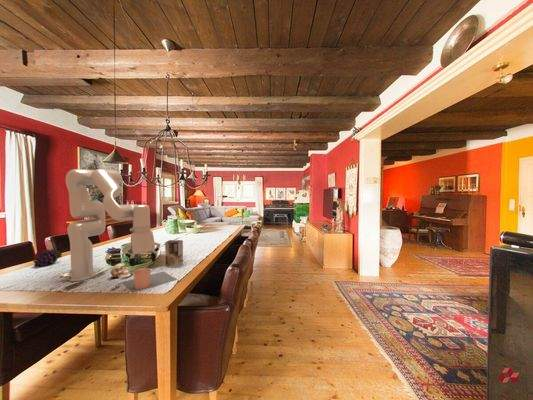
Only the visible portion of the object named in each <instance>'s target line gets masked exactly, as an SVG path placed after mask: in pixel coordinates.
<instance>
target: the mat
mask: <svg viewBox="0 0 533 400" xmlns="http://www.w3.org/2000/svg"><path fill="white" fill-rule="evenodd" d="M175 281H178V278H176V277H174V276H172V275H171V274H169V273H167V272H165V271H160V272H159V271H158V272H156V273H151V285H150V286H149V287H147V288H143V289H135V288H134V278H132V279H128V280H124V281H122V282H121V281H120V283H121V285H123V286H124V287H125V288H127V290H129V292H131V293H132V294H135V293H137V292H140V291H145V290H147V289H151V288H154V287H158V286H162V285H165V284H168V283H172V282H175Z"/></svg>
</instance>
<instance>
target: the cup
mask: <svg viewBox="0 0 533 400" xmlns="http://www.w3.org/2000/svg"><path fill="white" fill-rule="evenodd" d="M151 271H152V270H151V269H150V267H142V268H138V269H135V270H134V272H133V279H134V288H135V289H143V288H147V287H149V286H150V285H151V274H152V273H151Z"/></svg>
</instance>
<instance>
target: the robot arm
mask: <svg viewBox="0 0 533 400" xmlns="http://www.w3.org/2000/svg"><path fill="white" fill-rule="evenodd" d="M122 182H123V176H122V174H121V173H120V172H119V171H117V170H115V169H107V168H106V169H105V168H97V169H87V168H75V169H70V170H69V171H68V172H67V173H66V175H65V185H66V188H67V191H68V196H69V197H68V200H69V201H68V202H69V212H70V216H71V217H72V218H75V219H83V220H76V221H73V222H71V223H69V224H68V226H67V228H66V231H67V235H68V239H69V248H70V249H69V250H70V251H69V252H70V269H69V271H68V272H66V273H59V278H60V279H61V278H63V279H64V278H67V281H68V280H69V281H68V282H80V281H84V280H85V281H86V280H88V279H92V278H95V277H96V276H97V272H96V271H95V270H94V258H93V257H94V255H93V253H94V250H93V247H94V246H93V242H92V241H91V240H90V239H89V237H94V236H99V235H102V234H103V233H105V231H106V224H107V223H106V222H107V221H106V213H107V215H108V216H109V217H110V218H111V219H113V220H115V221H125V220H126V221H127V220H132V227H131V228H130V229H129V232H132V233H131V234H130V235H131V236H130V242H129V243H130V245H129V246H127V247H124V249H122V250H121V251H122V253H123V254H124V256H125V257H127V258H128V260H129V261H128V262H129V266H130V267H132V268H133V267H135V258H134V257H135V255H139V254H140V255H141V254H144V253H145V254H146V253H150V252H151V253H150V260H151V262H152V263H156V262H155V261H156V259H157V257H156V256H157V255H156V254H157V252H159V250H160V247H161V246H162V244H161V243H158V242H155V237H154V234H153V233H154V232H153V231H152V230H151V213H150V212H151V209H150V205H148V204H136V203H131V204H127V203H126V204H118V203H117V201H116V200H115V198H117V197H119V196H120V195H121V194H122V191H123V188H122V186H120V184H122ZM85 186H96V187H97V188H98V190H99V191H100V192H101V193H102V195H103V198H102V202H101V201H100V200H95V199H94V200H90V192H89V191H88V189H87V188H86V187H85ZM84 218H85V219H84ZM86 218H91V219H86ZM128 251H130V253H129V252H128Z"/></svg>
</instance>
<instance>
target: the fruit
mask: <svg viewBox="0 0 533 400" xmlns="http://www.w3.org/2000/svg"><path fill="white" fill-rule="evenodd" d="M62 255H63V254H62V252H60V251H58V249H55V248H54V249H52V248H51V249H46V250H45V249H42V252H40V253H39V256H37V257H35V260H34V261H33V263H34V267H36V268H37V267H39V268H41V267H42V266H48V265H54V264H55V263H56V262H57V261H58V260H59V259H60V258H62V257H63V256H62Z"/></svg>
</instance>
